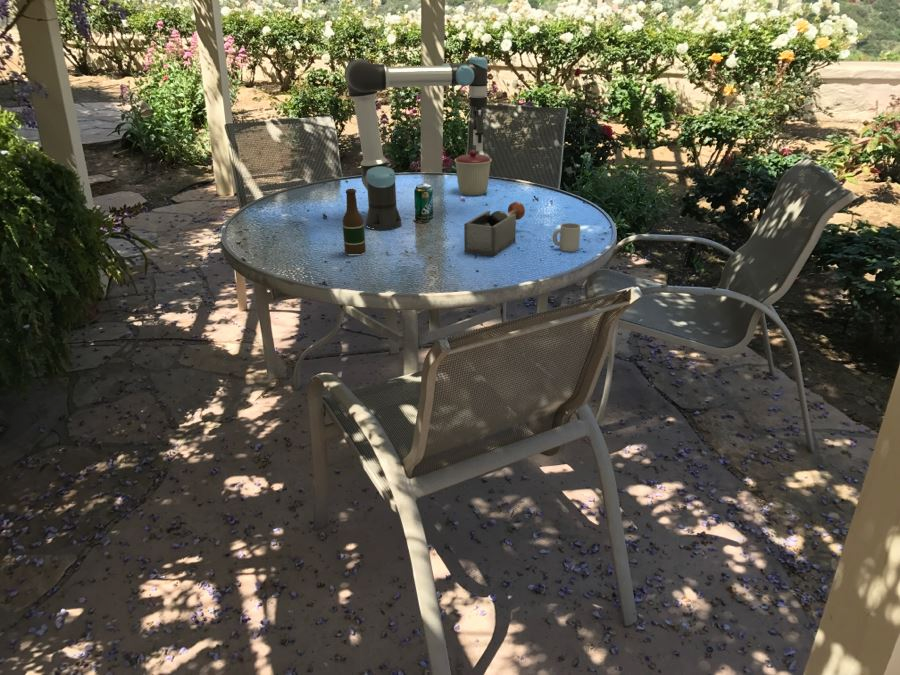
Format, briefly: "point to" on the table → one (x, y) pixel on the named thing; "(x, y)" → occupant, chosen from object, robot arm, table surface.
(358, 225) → the beer bottle
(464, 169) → the canister
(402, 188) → the table surface
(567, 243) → the cup
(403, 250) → the table surface
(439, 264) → the table surface
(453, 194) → the table surface
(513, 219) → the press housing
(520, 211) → the plunger
